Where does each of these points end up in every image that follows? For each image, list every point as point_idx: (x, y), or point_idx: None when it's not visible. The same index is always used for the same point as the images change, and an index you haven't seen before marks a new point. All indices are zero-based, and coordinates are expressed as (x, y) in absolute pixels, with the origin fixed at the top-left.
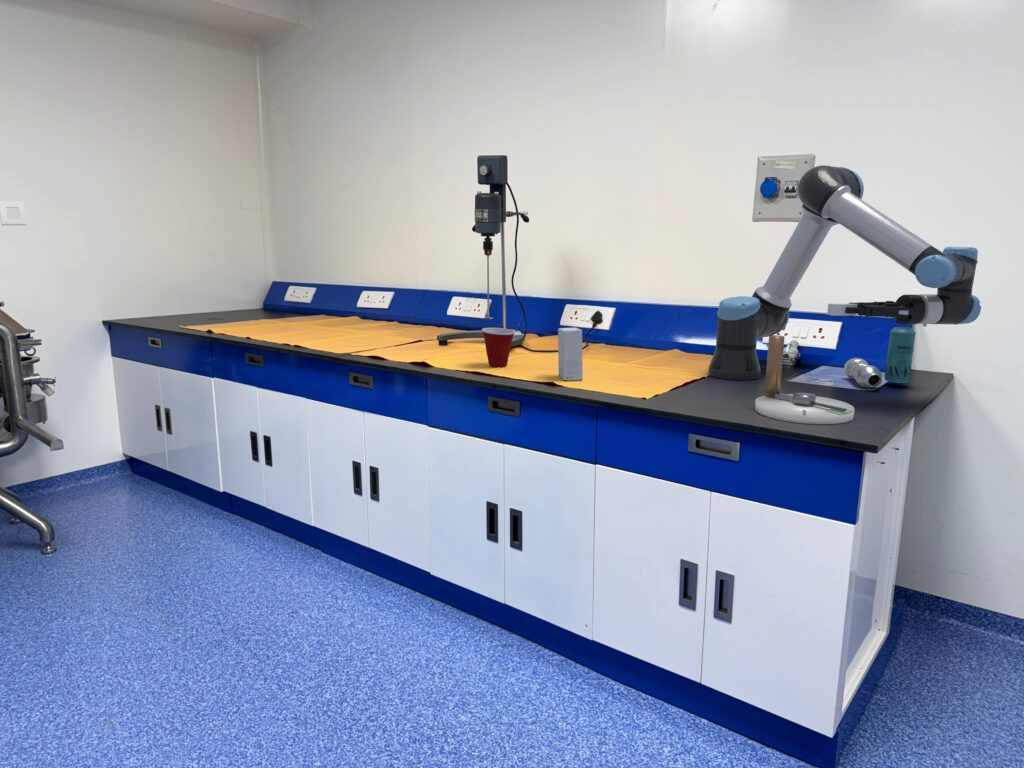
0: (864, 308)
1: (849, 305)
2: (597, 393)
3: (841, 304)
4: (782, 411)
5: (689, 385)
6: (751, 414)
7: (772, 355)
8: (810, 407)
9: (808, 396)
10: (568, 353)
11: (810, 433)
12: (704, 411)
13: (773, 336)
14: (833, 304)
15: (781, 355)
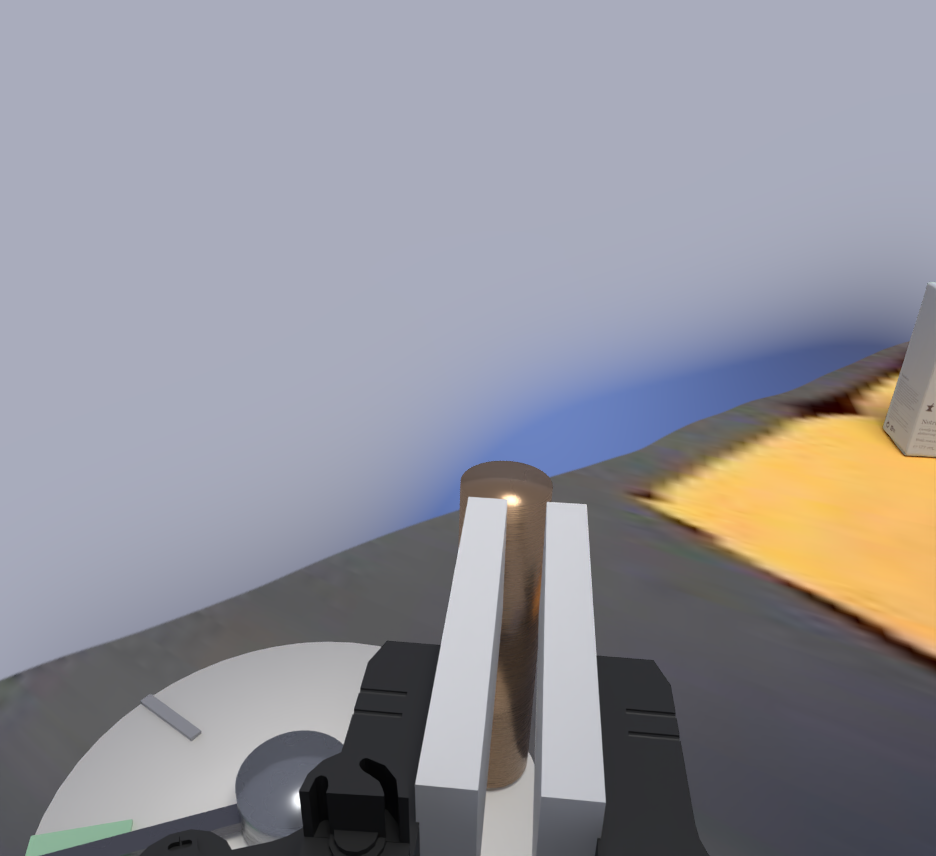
0: (244, 850)
1: (438, 665)
2: (716, 443)
3: (468, 569)
4: (237, 661)
5: (919, 671)
6: (360, 643)
7: None
8: (228, 800)
9: (255, 770)
10: (911, 356)
11: (42, 675)
12: (448, 553)
13: (508, 472)
14: (479, 501)
15: None
